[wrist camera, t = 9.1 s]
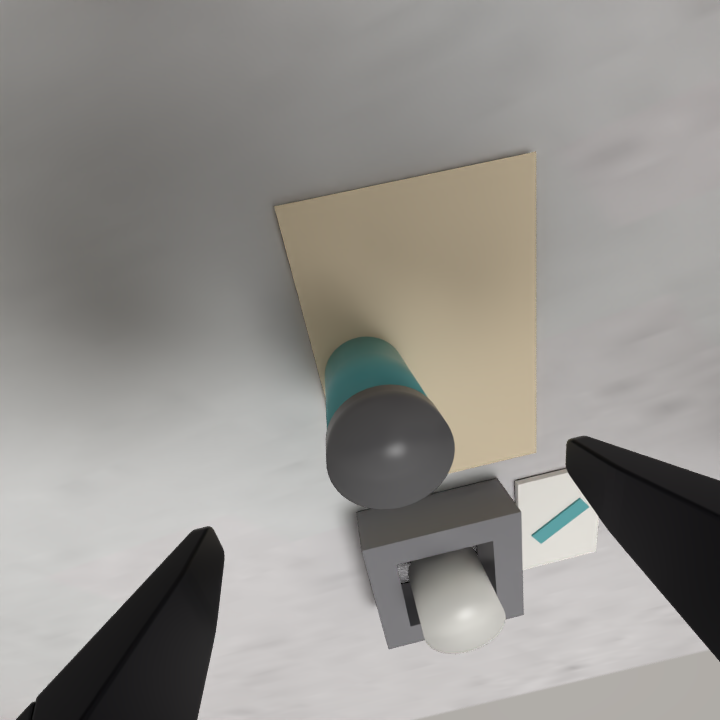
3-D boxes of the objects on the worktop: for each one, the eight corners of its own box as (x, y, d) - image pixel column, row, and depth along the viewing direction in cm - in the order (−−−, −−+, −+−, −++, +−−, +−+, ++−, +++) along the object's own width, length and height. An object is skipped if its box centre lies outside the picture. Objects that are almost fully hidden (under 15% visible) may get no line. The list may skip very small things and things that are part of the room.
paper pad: (529, 153, 13) (536, 151, 13) (531, 448, 18) (536, 452, 18) (275, 207, 13) (274, 206, 12) (350, 491, 18) (351, 496, 18)
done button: (475, 533, 18) (504, 588, 15) (480, 583, 20) (507, 641, 17) (403, 551, 18) (418, 610, 15) (413, 600, 19) (429, 661, 17)
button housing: (497, 478, 19) (521, 511, 17) (502, 575, 22) (523, 614, 20) (356, 512, 18) (361, 550, 16) (381, 605, 21) (388, 649, 19)
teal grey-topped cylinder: (398, 326, 15) (447, 386, 9) (411, 401, 16) (460, 493, 10) (314, 346, 14) (311, 418, 9) (334, 419, 16) (342, 522, 10)
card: (599, 460, 19) (605, 465, 19) (592, 547, 22) (596, 552, 21) (514, 481, 19) (518, 486, 19) (517, 566, 22) (520, 572, 21)
